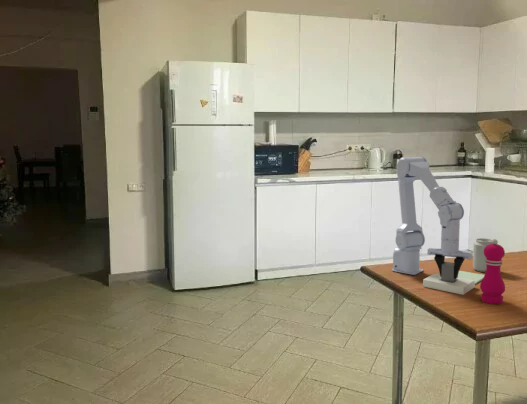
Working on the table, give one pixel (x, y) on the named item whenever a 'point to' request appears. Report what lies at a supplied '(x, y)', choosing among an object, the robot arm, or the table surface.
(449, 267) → the plug
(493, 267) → the pepper mill
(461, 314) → the table surface
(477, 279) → the mat
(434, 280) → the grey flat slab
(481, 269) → the can
